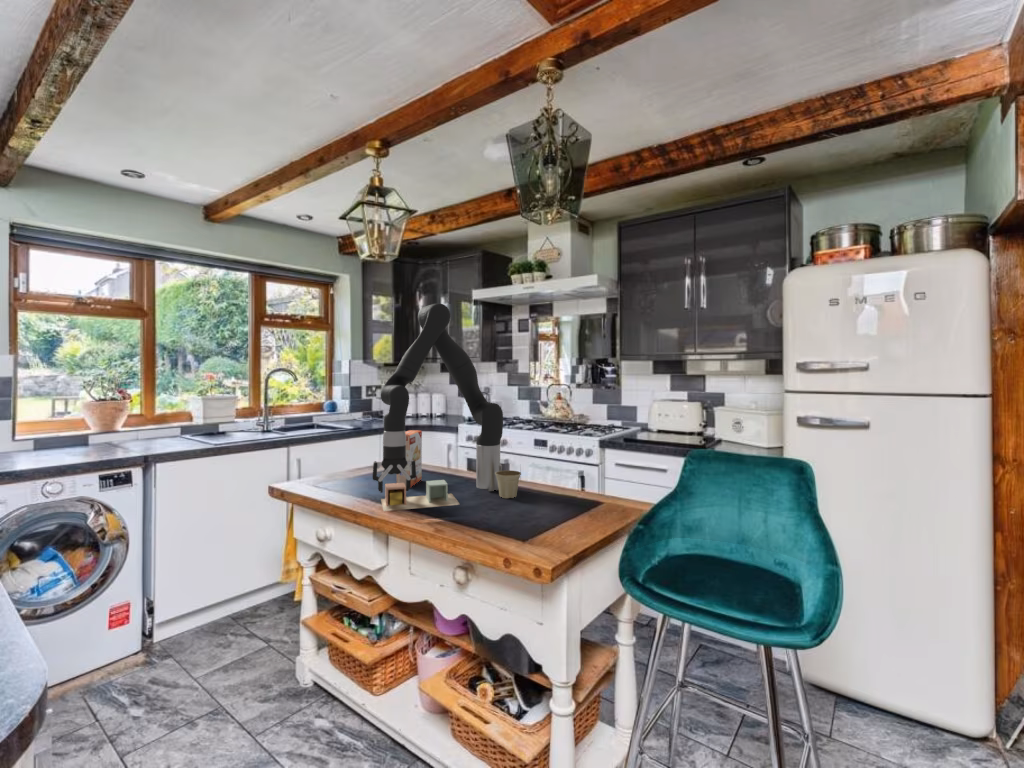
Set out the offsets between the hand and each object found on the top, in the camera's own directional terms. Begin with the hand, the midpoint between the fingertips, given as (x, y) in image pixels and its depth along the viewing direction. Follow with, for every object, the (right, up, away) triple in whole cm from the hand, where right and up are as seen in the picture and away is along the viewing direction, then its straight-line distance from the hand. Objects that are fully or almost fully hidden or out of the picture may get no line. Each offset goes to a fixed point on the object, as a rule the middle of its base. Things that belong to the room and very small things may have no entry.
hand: (394, 491), depth 175 cm
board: (+8, -5, +2) cm, 10 cm away
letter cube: (0, -4, 0) cm, 4 cm away
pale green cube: (+14, -4, +4) cm, 15 cm away
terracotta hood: (0, -4, 0) cm, 4 cm away
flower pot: (+39, -5, +12) cm, 41 cm away
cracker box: (-1, -4, +30) cm, 31 cm away
